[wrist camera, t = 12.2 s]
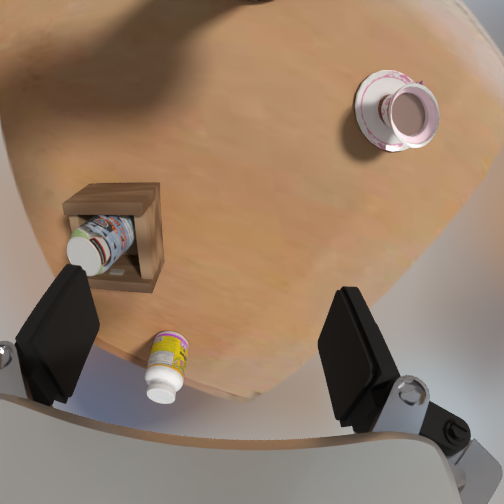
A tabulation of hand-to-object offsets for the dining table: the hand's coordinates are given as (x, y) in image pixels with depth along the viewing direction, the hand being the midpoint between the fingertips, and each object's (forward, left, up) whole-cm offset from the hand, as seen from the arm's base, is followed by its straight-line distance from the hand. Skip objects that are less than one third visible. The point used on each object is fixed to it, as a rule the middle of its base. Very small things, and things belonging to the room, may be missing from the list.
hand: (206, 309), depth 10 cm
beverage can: (+9, -15, -29) cm, 33 cm away
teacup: (-9, +22, -30) cm, 38 cm away
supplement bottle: (+34, -10, -30) cm, 46 cm away
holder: (+10, -15, -30) cm, 35 cm away
